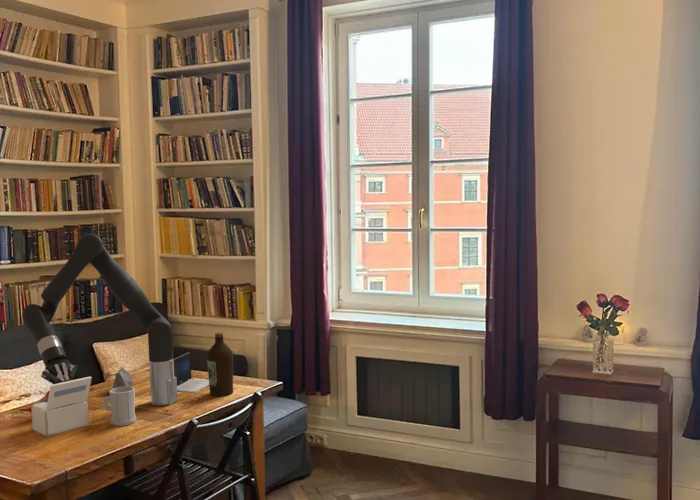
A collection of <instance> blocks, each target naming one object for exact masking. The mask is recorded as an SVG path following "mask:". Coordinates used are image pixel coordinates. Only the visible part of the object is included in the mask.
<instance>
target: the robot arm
mask: <svg viewBox="0 0 700 500" xmlns="http://www.w3.org/2000/svg"><path fill="white" fill-rule="evenodd" d="M89 264H90V265H91V266H93V268H94V269H95V270H96V271H97V272H98V274H99V275H100V277H101V278H102V280H103V282H104V283H105V285H106V286H107V287H108V289H109V290H110V291H111V293H112V294H113V295H114V297H115V298H116V299H117V300H118V302H120V304H122V306H124V307H125V308H126V309H127V310H128V311H129V312H130V313H132V314H133V315H134V316H135V317H137V319H138V321H139V322H140V323H141V325H143V328H144V329H145V331H146V332H147V339H148V340H147V341H148V364H149V366H148V367H149V381H150V383H149V385H150V386H149V387H150V400H151V401H150V402H151V405H153V406H167V405H172V404H174V403H176V402H177V401H178V392H177V378H176V377H174V361H173V359H174V334H173V328H172V325H171V322H169V321H168V319H166V317H164V316H163V315H162V314H161V313H160V312H159V311H158V310H157V309H156V307H154V306H153V304H152V303H151V302H150V300H149V299H148V297H147V295H146V294H145V292H144V291H143V289H142V288H141V287H140V286H139V284H138V283H137V281H135V279H134V278H133V277H132V276H131V275H130V274H129V273H128V272H127V271H126V270H125V268H124V267H123V266H121V265H120V264H119V263H118V262H117V261H115V260H114V258H113V257H112V256H111V254H110V252H108V250H107V249H106V247H105V246H104V243H103V240H102V239H101V238H100V237H99V236H98V235H97V234H94V233H85V234H83V235H82V236H80V237H79V238H78V240H77V241H76V246H75V248H74V250H73V252H72V253H71V255H70V257H69V258H68V260H67V262H65V264H64V265H63V266H62V267H61V269H60V270H59V271H58V272H57V273H56V274H55V275H54V276H53V278H52V279H51V280H50V282H49V283H48V284H47V285H46V287H45V288H44V290H43V291H42V292H41V294H40V297H41V300H43V302H42V305H39V304H35V303H30V304H27V305H26V306H25V307H24V308H23V311H22V319H23V322H24V323H25V325H26V327H27V328H28V329H29V331H30V333H31V334H32V335H33V337H34V340H35V342H36V345H37V348H38V352H39V355H40V357H41V359H42V363H43V365H44V367H45V368H44V370H43V371H42V372H41V375H40V377H41V379H44V380H46V381H47V382H49V383H51V385H53V384H58V383H62V382H67V381H72V380H74V379H73V378H74V376H75V375H76V372H77V370H78V368H79V365H78V364H71V362H70V361H69V360H68V357H67V355H66V353H65V349H64V347H63V346H62V343H61V341H60V339H59V337H58V335H57V333H56V331H55V328H54V327H53V325H51V324H50V323H51V322H52V319H53V318H54V315H55V314H56V311H57V309H58V306H59V304H60V302H61V301H62V300H63V299H64V297H65V296H66V294H67V293H68V292H69V290H70V289H71V288H72V286H73V284H74V283H75V281H76V280H77V279H78V277H79V275H80V274H81V273H82V272H83V270H84V269H85V268H86V267H87V266H88V265H89ZM69 371H70V375H69Z"/></svg>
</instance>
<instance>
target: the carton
mask: <svg viewBox="0 0 700 500" xmlns="http://www.w3.org/2000/svg"><path fill="white" fill-rule="evenodd" d="M32 405H33V406H32ZM32 405H31V406H30V407H31V412H30V413H31V425H32V426H31V428H32V430H33V431H34V432H37V433H39V434H41V435H42V436H44V437H46V438H47V437H52V436H55V435H58V434H63V433H66V432H69V431H73V430H76V429H77V430H78V429H81V428H84V427H89V426H90V415H89V402H88V400H84V401H80V402H76V403H72V404H68V405H64V406H60V407H55V408H51V409H47V408H46V407H47V402H46V403H45V402H42V403H37V404H34V403H33V404H32Z"/></svg>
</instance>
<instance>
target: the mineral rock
mask: <svg viewBox="0 0 700 500" xmlns="http://www.w3.org/2000/svg"><path fill="white" fill-rule="evenodd" d="M132 383H133V379H132V375H131V373H130V372H128V370H126V369H125V367H121V368H120V369H119V370H118V371H116V373H115V379H114V381H113V386H112V389H114V388H118V387H127V386H128V387H132V385H133V384H132Z"/></svg>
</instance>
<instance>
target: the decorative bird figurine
mask: <svg viewBox="0 0 700 500" xmlns="http://www.w3.org/2000/svg"><path fill="white" fill-rule="evenodd" d="M49 391H50V389H49V390H48V391H47V392H46V393H45V395H44V396H43V397H41V398H40V399H39V400H37V401H35V402H34V403H33V404H37V403H42V402H45V403H46V402H48V396H49ZM33 404H31V406H33ZM31 406H30V407H28V408H27V407H25V408H20V409H18V411H19V412H28V413H29V412H30V413H31Z"/></svg>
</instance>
